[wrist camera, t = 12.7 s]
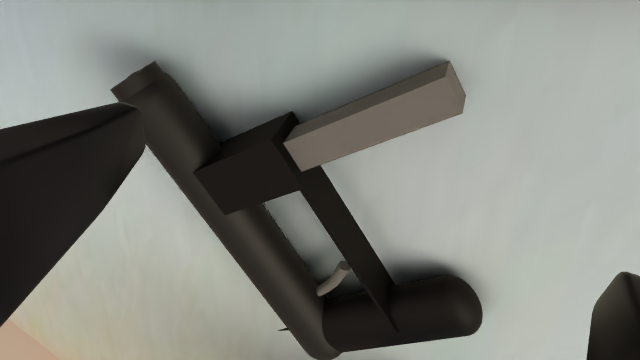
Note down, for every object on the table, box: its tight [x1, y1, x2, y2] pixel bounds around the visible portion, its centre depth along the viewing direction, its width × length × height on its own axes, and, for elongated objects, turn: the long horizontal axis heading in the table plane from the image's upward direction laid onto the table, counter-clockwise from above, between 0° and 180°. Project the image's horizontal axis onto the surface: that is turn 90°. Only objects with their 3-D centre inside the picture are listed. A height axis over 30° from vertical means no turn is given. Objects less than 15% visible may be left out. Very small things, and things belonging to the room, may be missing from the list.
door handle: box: [111, 61, 482, 360], centre depth 26 cm, size 3×20×16 cm
